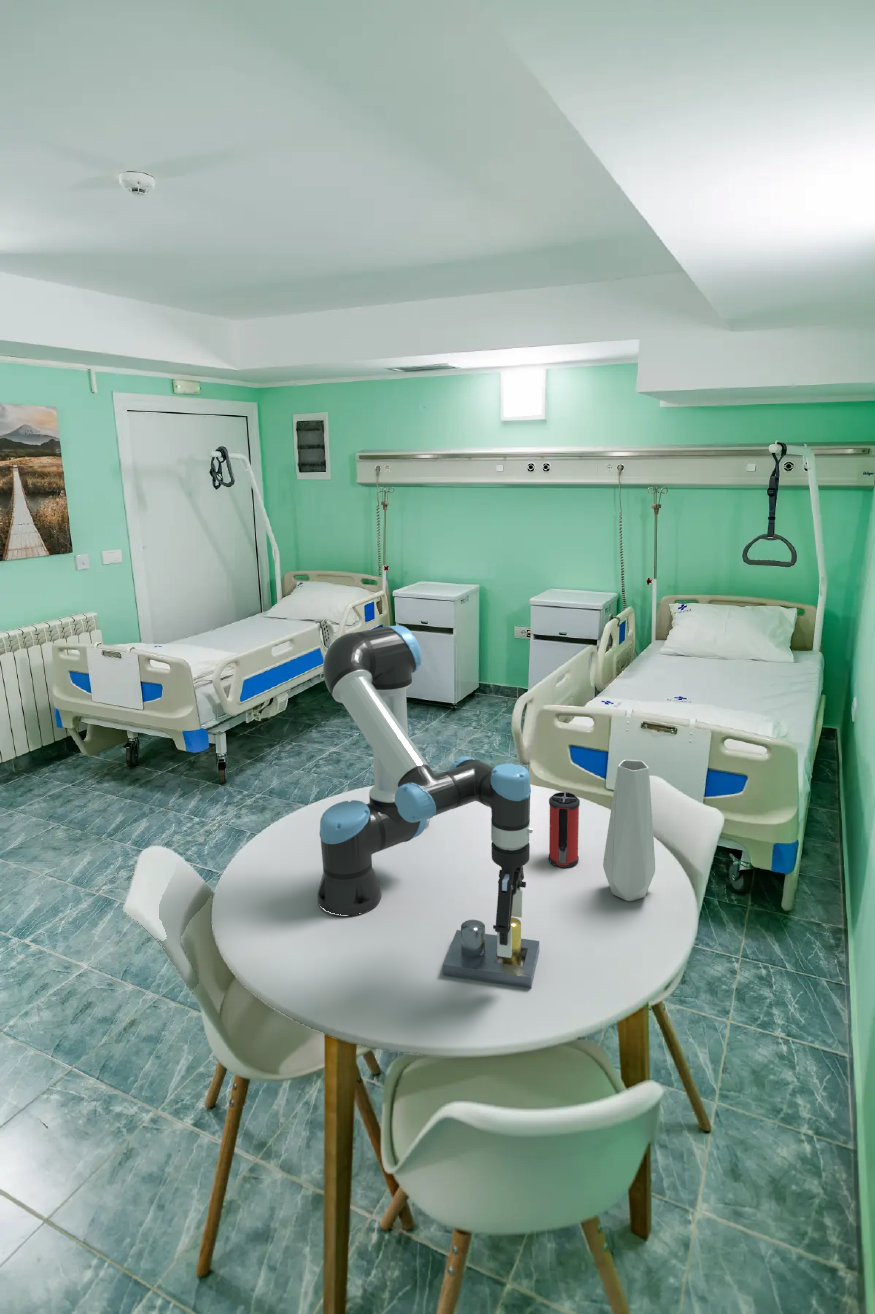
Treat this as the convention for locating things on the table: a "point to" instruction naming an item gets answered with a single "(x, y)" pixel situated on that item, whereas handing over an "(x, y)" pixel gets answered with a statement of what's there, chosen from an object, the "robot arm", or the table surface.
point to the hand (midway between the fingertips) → (510, 935)
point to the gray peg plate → (487, 958)
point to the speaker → (564, 829)
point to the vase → (630, 833)
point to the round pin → (515, 944)
